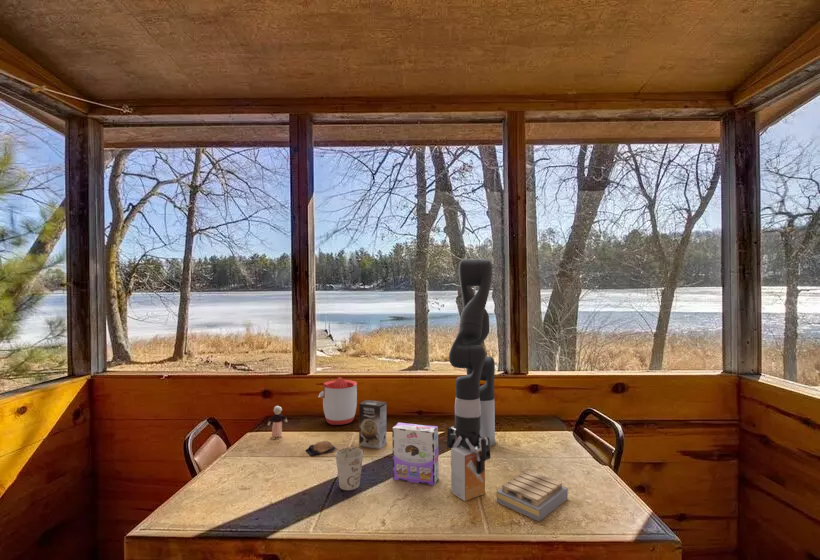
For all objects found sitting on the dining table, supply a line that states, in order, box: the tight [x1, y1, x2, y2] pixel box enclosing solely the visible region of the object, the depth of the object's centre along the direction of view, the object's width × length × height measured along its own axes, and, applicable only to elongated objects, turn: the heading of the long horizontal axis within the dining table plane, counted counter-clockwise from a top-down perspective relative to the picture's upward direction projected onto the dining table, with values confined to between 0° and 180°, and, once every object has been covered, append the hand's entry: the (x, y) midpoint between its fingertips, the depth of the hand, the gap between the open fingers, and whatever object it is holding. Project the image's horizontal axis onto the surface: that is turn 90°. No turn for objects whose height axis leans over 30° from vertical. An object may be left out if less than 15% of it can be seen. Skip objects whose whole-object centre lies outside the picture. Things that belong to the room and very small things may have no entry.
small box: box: [450, 446, 486, 502], centre depth 117 cm, size 8×6×13 cm
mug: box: [335, 446, 364, 491], centre depth 124 cm, size 8×13×10 cm, turn 27°
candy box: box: [391, 422, 440, 486], centre depth 126 cm, size 14×6×16 cm, turn 71°
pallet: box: [501, 469, 563, 506], centre depth 113 cm, size 11×14×2 cm
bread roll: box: [305, 440, 339, 457], centre depth 149 cm, size 11×8×4 cm
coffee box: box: [358, 399, 388, 450], centre depth 154 cm, size 9×6×16 cm
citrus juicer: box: [318, 376, 358, 426], centre depth 180 cm, size 16×17×20 cm
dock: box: [495, 485, 569, 522], centre depth 113 cm, size 13×16×3 cm
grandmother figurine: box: [267, 405, 288, 440], centre depth 162 cm, size 8×4×13 cm, turn 129°
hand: (468, 468), depth 117 cm, fingers open, 8 cm apart
